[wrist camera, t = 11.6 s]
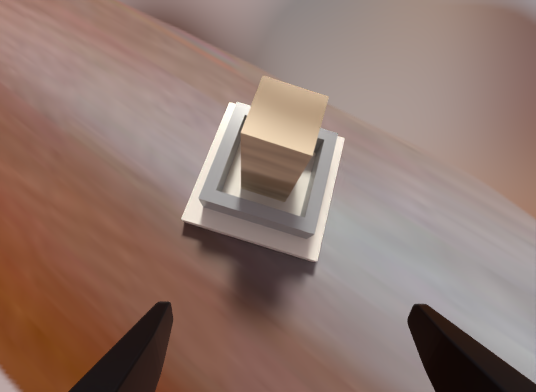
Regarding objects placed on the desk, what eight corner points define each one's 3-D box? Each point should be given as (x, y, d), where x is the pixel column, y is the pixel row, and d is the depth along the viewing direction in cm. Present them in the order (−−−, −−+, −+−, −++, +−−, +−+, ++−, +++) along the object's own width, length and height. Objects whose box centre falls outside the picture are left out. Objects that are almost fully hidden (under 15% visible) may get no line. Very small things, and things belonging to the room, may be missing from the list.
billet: (284, 202, 22) (312, 155, 14) (240, 188, 22) (240, 132, 14) (296, 162, 23) (328, 96, 15) (254, 148, 23) (262, 75, 15)
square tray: (313, 262, 22) (327, 259, 18) (184, 222, 22) (173, 211, 18) (340, 144, 26) (355, 123, 22) (230, 109, 26) (228, 83, 22)
